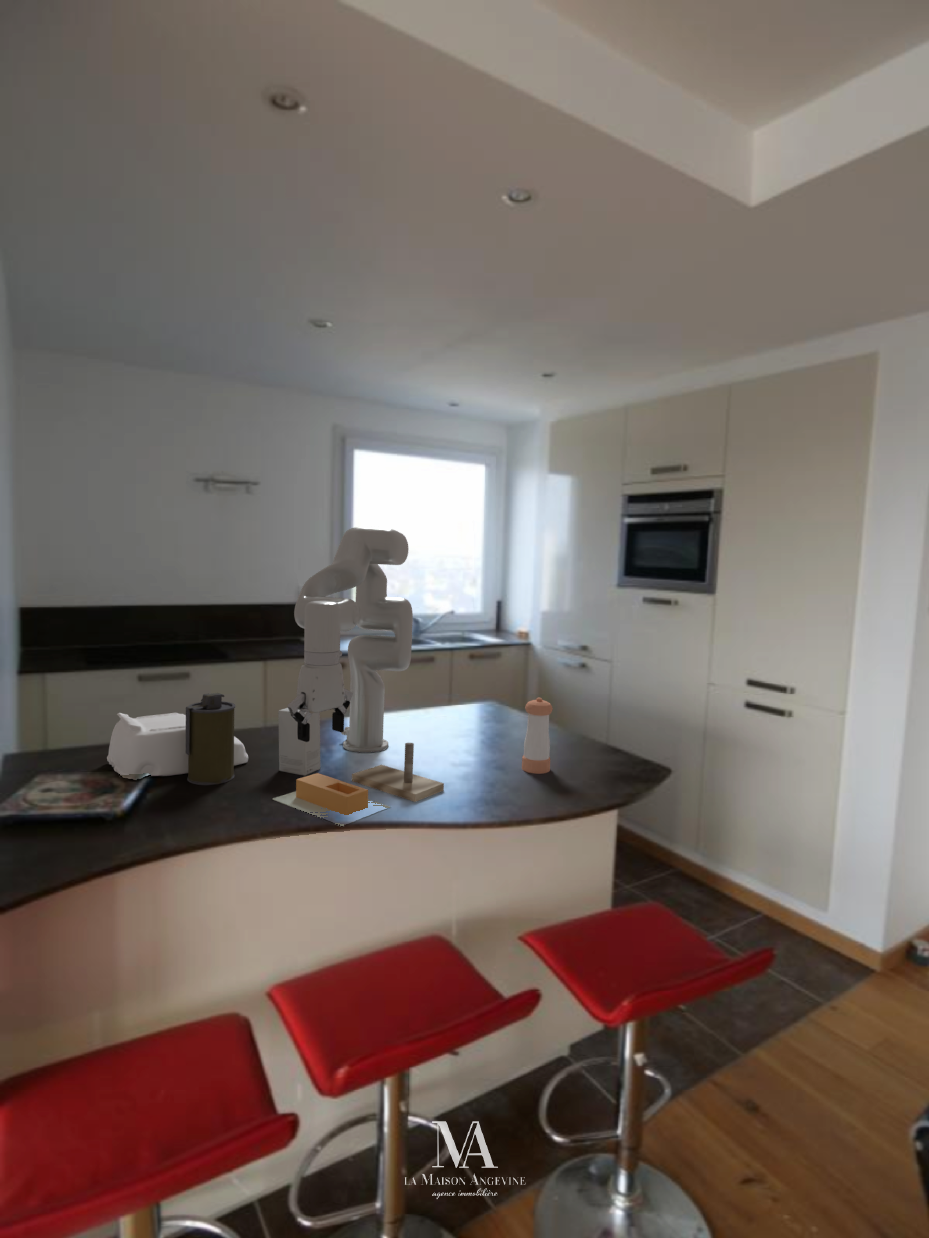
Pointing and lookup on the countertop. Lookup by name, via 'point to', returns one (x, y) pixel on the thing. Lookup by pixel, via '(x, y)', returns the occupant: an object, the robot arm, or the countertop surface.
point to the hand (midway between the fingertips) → (321, 735)
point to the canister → (210, 740)
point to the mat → (308, 805)
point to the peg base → (399, 779)
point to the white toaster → (155, 745)
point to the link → (332, 793)
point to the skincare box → (298, 745)
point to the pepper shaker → (537, 737)
